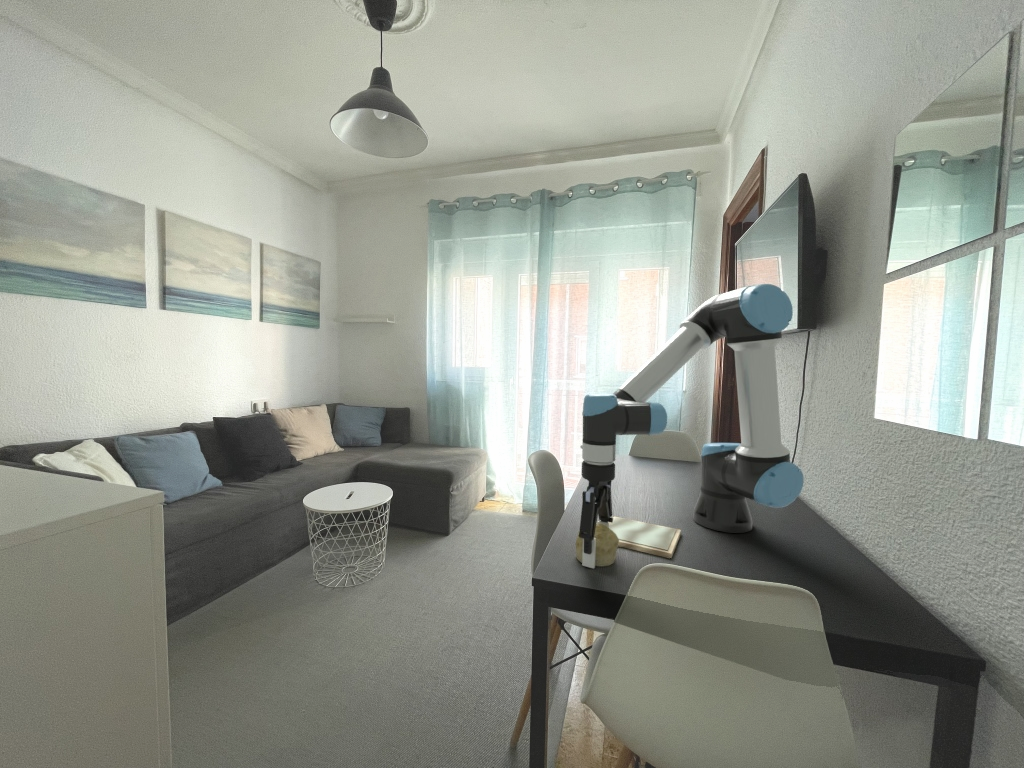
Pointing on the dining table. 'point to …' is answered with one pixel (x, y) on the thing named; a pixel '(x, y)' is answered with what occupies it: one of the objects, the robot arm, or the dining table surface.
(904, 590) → the dining table surface
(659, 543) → the board
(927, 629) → the dining table surface
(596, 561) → the decorative item
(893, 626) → the dining table surface
